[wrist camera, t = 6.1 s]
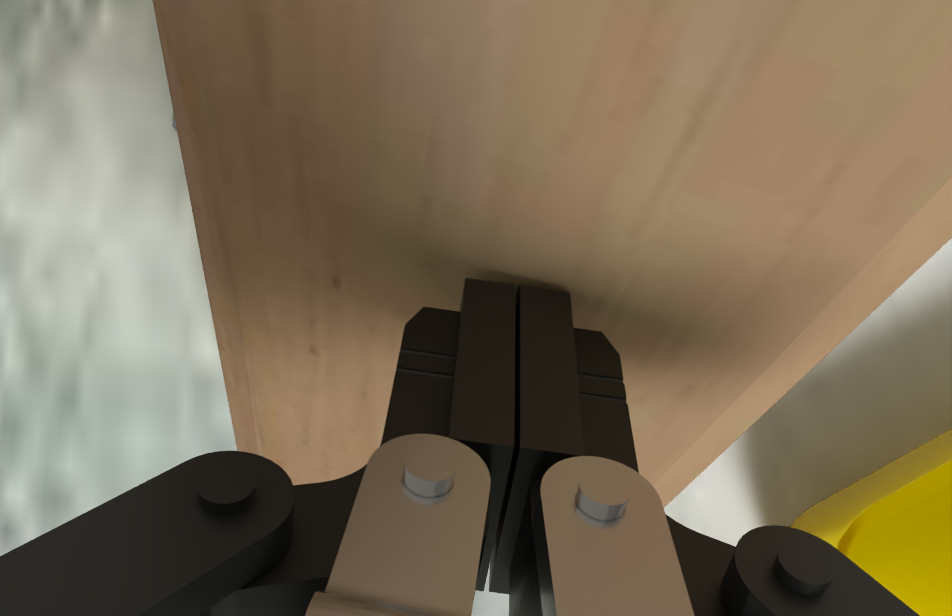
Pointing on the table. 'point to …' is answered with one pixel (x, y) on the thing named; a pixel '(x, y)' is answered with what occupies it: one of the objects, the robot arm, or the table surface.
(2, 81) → the table surface
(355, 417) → the wooden block
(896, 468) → the yellow labelled tile
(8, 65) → the table surface
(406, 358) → the robot arm
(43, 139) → the table surface
